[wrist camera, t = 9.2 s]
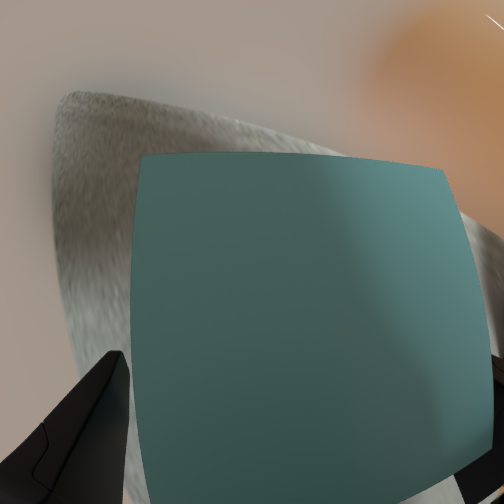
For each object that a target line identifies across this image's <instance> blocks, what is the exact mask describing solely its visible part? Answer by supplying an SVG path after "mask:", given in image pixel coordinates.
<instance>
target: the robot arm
mask: <svg viewBox="0 0 504 504" xmlns="http://www.w3.org/2000/svg"><path fill="white" fill-rule="evenodd" d="M491 359H492V372H493V394H494V419H493V441H492V449H490V450H489V451H487V452H486V453H485V454H483V455H482V456H480V457H479V458H478V459H476V460H475V461H473V462H472V463H470V464H469V465H467V466H465V467H464V468H462V469H461V470H459V471H458V472H456V473H454V474H453V475H454V477H455V480H456V482H457V484H458V487H459V489H460V492H461V494H462V497H463V499H464V502H465V504H478V503H479V502H481V501H482V500H484V499H485V498H487V497H488V496H489V495H491V494H492V493H493V492H495V491H496V490H497V489H499V488H500V487H501V486H503V487H504V360H503V359H501V358H499V357H496V356H494V355H492V354H491ZM129 389H130V373H129V368H128V366H127V363H126V360H125V357H124V354H123V352H122V351H119V350H117V351H113V350H111V351H108V352H107V353H106V354H105V355H104V356H103V357H102V358H101V359H100V360H99V361H98V362H97V363H96V364H95V366H94V367H93V368H92V369H91V370H90V371H89V372H88V373H87V374H86V375H85V376H84V377H83V378H82V379H81V380H80V381H79V382H78V383H77V385H76V386H75V387H74V388H73V389H72V390H71V391H70V392H69V393H68V394H67V396H65V397H64V398H63V400H62V401H61V402H60V403H59V404H58V405H57V406H56V407H55V408H54V409H53V410H52V412H51V413H50V414H49V415H48V416H47V417H46V418H45V419H44V421H43V422H42V423H40V425H39V426H38V427H37V428H36V429H35V430H34V431H33V432H32V433H31V434H30V435H29V436H28V437H27V439H26V440H25V441H24V442H23V443H21V444H20V445H19V446H18V447H17V448H16V449H15V450H14V451H13V452H12V453H11V454H10V455H9V456H7V457H6V458H5V459H4V460H3V461H2V462H1V463H0V504H122V500H123V481H124V467H125V455H126V444H127V435H128V426H129ZM491 504H504V492H503V493H502V494H501V495H499V496H498V497H497V498H496V499H495V500H494V501H492V502H491Z"/></svg>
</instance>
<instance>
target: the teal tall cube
mask: <svg viewBox="0 0 504 504" xmlns="http://www.w3.org/2000/svg"><path fill="white" fill-rule="evenodd" d="M130 327H131V357H132V375H133V388H134V400H135V410H136V419H137V427H138V435H139V442H140V449H141V456H142V462H143V468H144V473H145V479H146V484H147V489H148V494H149V498H150V503H151V504H397V503H399V502H401V501H403V500H405V499H408V498H410V497H412V496H414V495H416V494H418V493H420V492H422V491H424V490H426V489H428V488H430V487H432V486H433V485H435V484H437V483H439V482H441V481H442V480H444V479H446V478H448V477H449V476H451V475H453V474H454V473H456V472H458V471H459V470H461V469H462V468H464V467H465V466H467V465H469V464H470V463H472V462H473V461H475V460H476V459H478V458H479V457H480V456H482V455H483V454H485V453H486V452H487V451H489V450H490V449H492V441H493V419H494V394H493V372H492V359H491V349H490V340H489V332H488V325H487V319H486V313H485V307H484V302H483V296H482V292H481V287H480V282H479V278H478V274H477V270H476V266H475V262H474V258H473V254H472V251H471V247H470V244H469V240H468V237H467V234H466V231H465V227H464V224H463V221H462V218H461V215H460V213H459V210H458V207H457V204H456V202H455V199H454V196H453V194H452V191H451V188H450V186H449V183H448V181H447V179H446V176H445V174H444V171H443V170H440V169H435V168H429V167H422V166H416V165H410V164H403V163H395V162H388V161H380V160H371V159H362V158H352V157H341V156H329V155H314V154H297V153H272V152H197V153H172V154H155V155H142V157H141V163H140V171H139V178H138V187H137V196H136V205H135V216H134V228H133V242H132V260H131V291H130Z"/></svg>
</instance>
